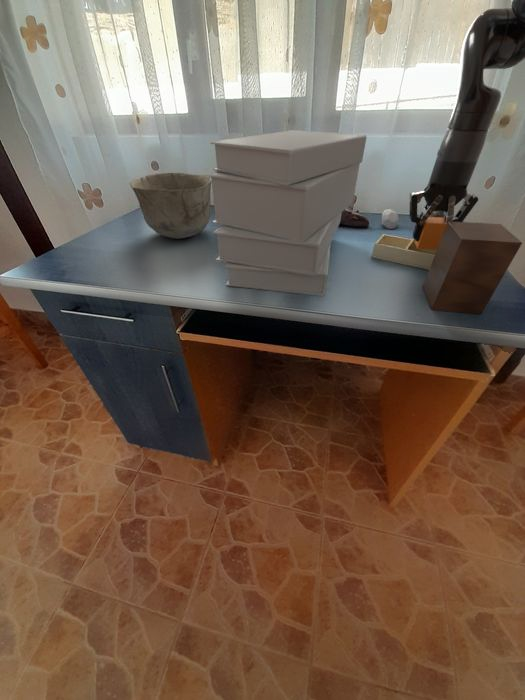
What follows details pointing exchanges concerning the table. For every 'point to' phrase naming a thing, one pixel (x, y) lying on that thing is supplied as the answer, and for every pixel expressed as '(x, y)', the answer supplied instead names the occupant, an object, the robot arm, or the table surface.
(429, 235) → the orange rectangular block
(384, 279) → the table surface
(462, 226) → the stand
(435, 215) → the grey mottled figurine
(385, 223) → the gemstone
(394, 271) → the table surface
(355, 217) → the brown shoe
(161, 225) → the bowl
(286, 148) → the book stack
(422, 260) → the divided box
